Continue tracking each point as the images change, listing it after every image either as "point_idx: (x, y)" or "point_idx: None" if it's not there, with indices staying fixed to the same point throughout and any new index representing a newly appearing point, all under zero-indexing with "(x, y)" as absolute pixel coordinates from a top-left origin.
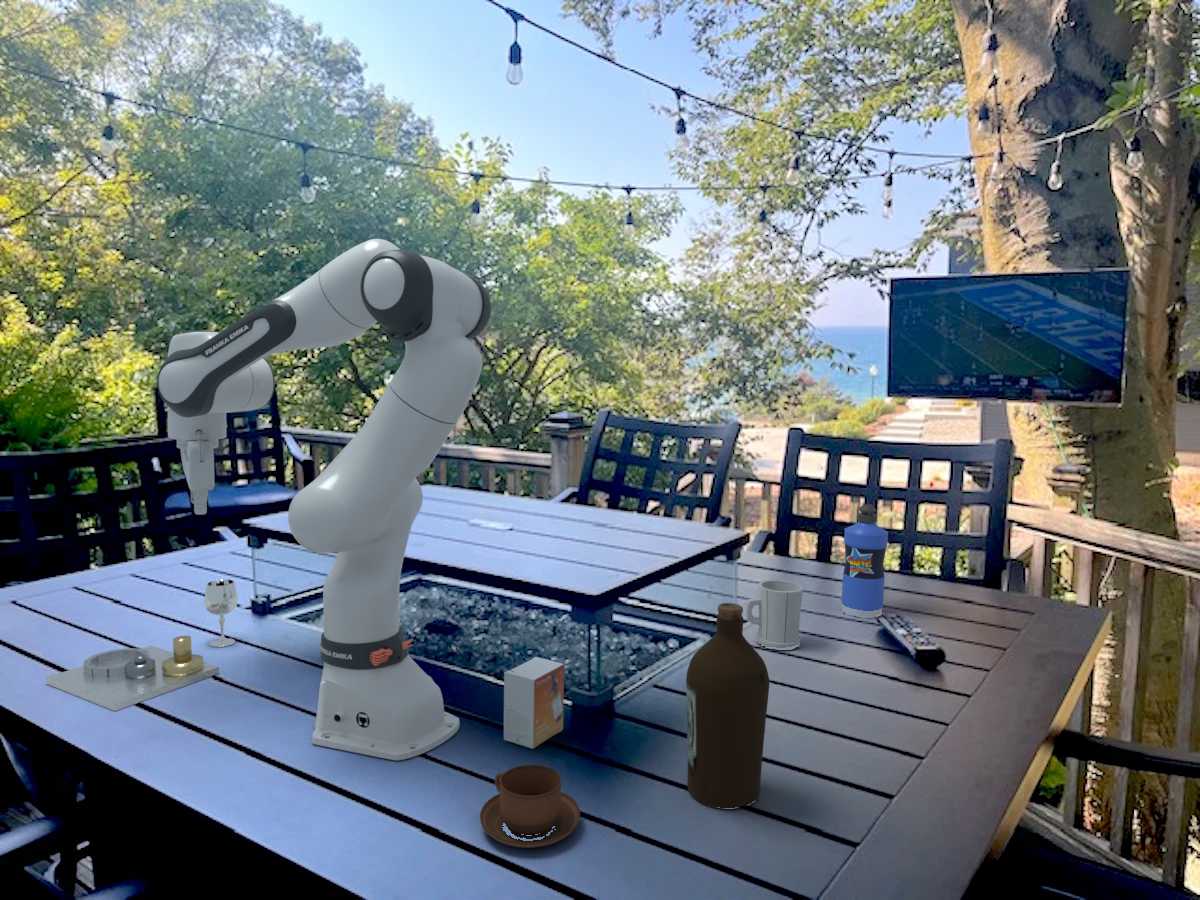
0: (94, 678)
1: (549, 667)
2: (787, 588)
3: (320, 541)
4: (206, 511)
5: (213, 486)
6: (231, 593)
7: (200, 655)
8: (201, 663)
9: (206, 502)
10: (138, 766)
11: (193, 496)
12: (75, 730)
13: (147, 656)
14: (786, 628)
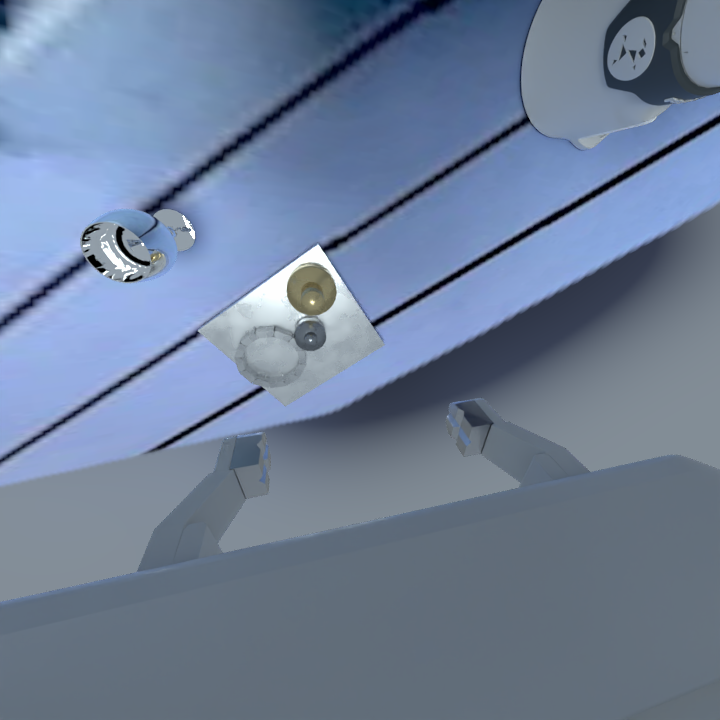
0: (305, 370)
1: None
2: None
3: None
4: (485, 400)
5: (707, 465)
6: (148, 227)
7: (298, 270)
8: (321, 268)
9: (514, 425)
10: (503, 312)
11: (267, 479)
12: (407, 362)
13: (275, 332)
14: None
